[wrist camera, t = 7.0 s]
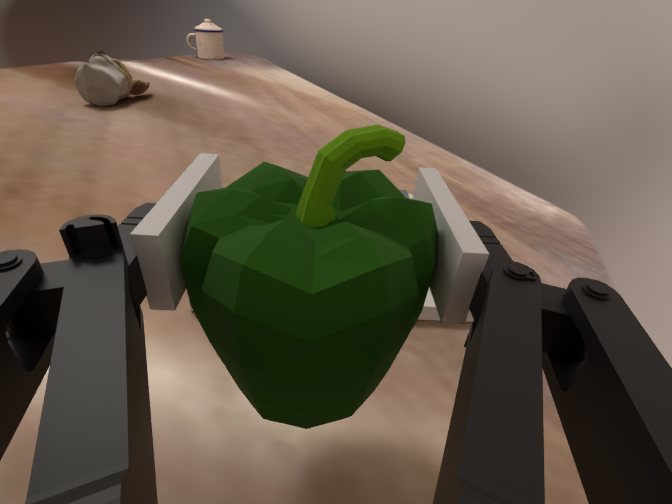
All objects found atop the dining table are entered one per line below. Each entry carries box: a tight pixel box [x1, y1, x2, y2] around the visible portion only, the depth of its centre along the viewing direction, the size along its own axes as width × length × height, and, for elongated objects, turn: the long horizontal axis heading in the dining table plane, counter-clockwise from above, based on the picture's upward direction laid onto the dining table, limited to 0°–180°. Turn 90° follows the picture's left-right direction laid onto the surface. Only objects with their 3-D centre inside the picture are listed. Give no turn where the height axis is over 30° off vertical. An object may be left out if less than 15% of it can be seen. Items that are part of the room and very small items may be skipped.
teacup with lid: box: [187, 19, 224, 60], centre depth 128 cm, size 12×9×12 cm
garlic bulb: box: [74, 51, 149, 106], centre depth 70 cm, size 11×9×15 cm
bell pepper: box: [180, 125, 438, 429], centre depth 13 cm, size 8×8×10 cm
